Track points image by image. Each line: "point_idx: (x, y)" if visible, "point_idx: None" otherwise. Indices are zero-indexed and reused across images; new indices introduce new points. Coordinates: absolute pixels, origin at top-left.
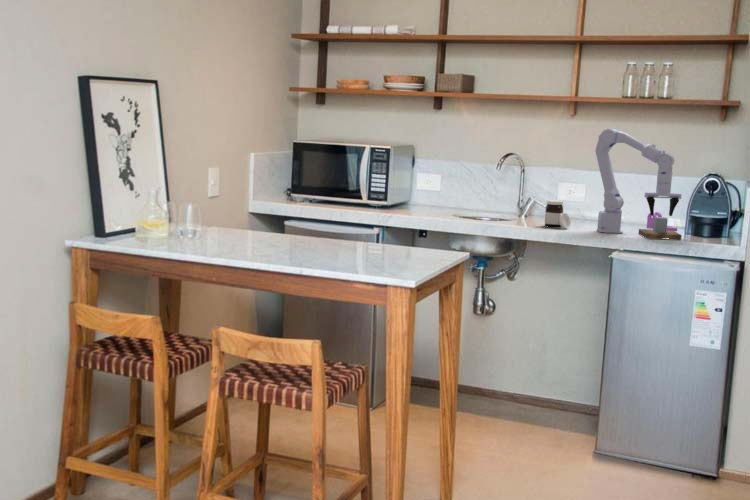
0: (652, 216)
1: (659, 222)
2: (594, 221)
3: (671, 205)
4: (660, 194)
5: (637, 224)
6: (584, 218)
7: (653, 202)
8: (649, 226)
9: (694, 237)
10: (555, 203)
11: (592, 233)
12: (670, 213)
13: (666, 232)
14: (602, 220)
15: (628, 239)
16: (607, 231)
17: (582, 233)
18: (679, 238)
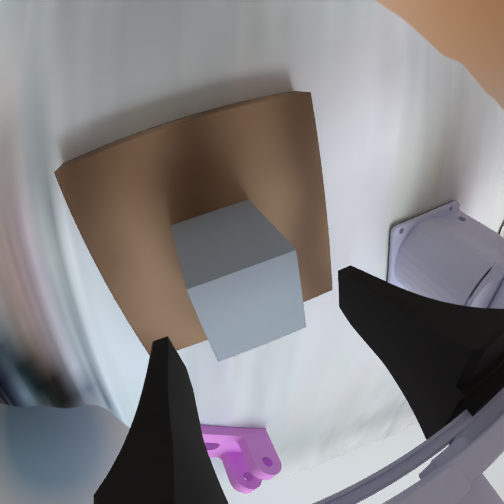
0: (264, 464)
1: (250, 241)
2: (389, 407)
3: (188, 445)
4: (473, 470)
5: (287, 447)
6: (394, 421)
7: (452, 329)
8: (258, 432)
9: (30, 323)
10: None
11: (476, 169)
12: (172, 358)
13: (171, 249)
14: (489, 232)
15: (385, 32)
16: (440, 216)
17: (495, 153)
18: (71, 161)
